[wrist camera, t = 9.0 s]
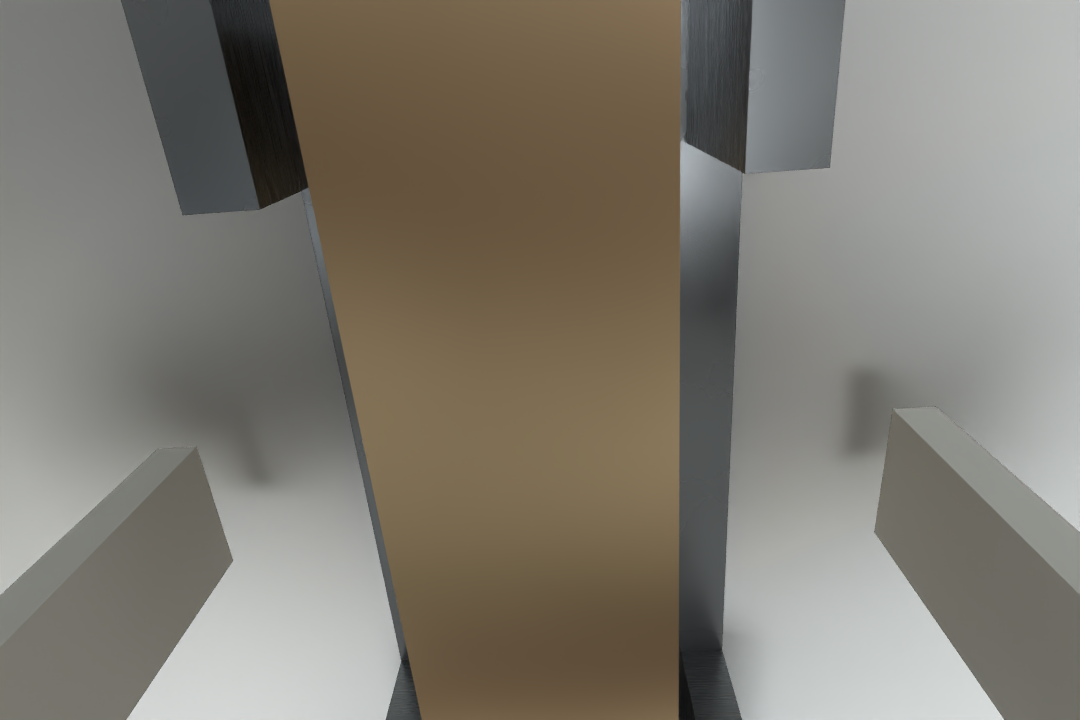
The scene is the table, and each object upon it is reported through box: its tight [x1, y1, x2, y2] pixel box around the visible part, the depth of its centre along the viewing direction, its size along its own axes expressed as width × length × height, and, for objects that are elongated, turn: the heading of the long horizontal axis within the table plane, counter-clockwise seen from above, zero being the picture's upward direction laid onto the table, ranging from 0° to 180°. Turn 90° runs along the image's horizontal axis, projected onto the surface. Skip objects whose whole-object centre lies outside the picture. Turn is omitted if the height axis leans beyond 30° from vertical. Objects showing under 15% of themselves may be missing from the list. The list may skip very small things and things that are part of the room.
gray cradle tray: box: [121, 0, 845, 720], centre depth 13 cm, size 22×8×5 cm, turn 4°
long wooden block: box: [269, 0, 681, 720], centre depth 12 cm, size 18×4×5 cm, turn 5°
